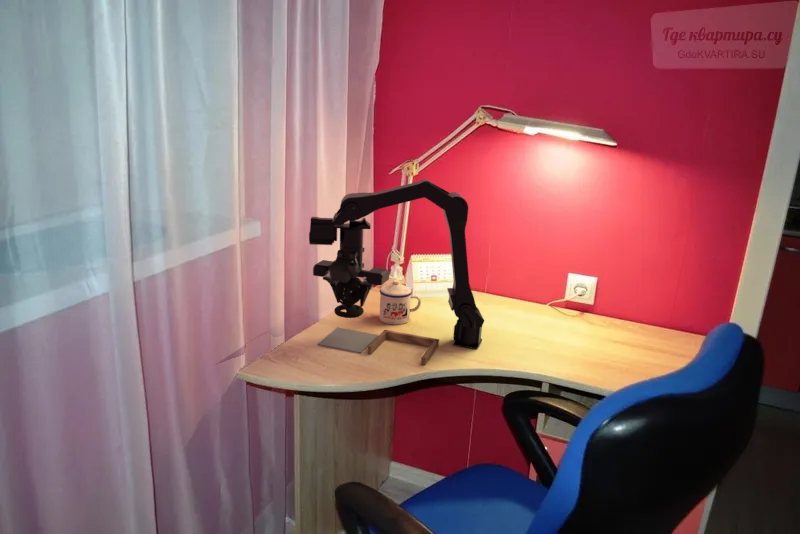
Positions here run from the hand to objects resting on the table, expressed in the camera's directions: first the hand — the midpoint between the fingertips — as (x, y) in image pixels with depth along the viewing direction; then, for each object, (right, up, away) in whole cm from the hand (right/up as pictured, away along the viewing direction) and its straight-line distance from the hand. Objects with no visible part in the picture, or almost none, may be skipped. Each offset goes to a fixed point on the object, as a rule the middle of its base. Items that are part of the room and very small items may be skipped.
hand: (350, 304), depth 153 cm
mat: (-1, -10, +3) cm, 10 cm away
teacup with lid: (+13, -6, +19) cm, 23 cm away
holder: (+14, -12, -2) cm, 18 cm away
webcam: (0, -2, +1) cm, 3 cm away
